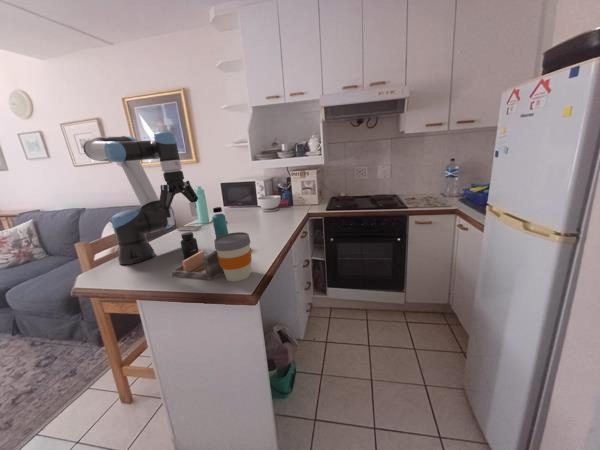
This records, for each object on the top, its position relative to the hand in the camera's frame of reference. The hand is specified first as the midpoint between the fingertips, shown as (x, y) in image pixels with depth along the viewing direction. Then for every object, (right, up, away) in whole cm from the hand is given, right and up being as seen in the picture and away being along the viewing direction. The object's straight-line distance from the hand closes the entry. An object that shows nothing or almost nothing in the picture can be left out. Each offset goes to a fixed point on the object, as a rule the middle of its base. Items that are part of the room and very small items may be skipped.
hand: (183, 220), depth 116 cm
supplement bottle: (+2, -18, +5) cm, 18 cm away
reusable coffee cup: (+28, -21, -18) cm, 39 cm away
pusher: (+9, -19, -8) cm, 23 cm away
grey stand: (+12, -20, -10) cm, 25 cm away
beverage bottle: (+13, -13, +17) cm, 25 cm away
